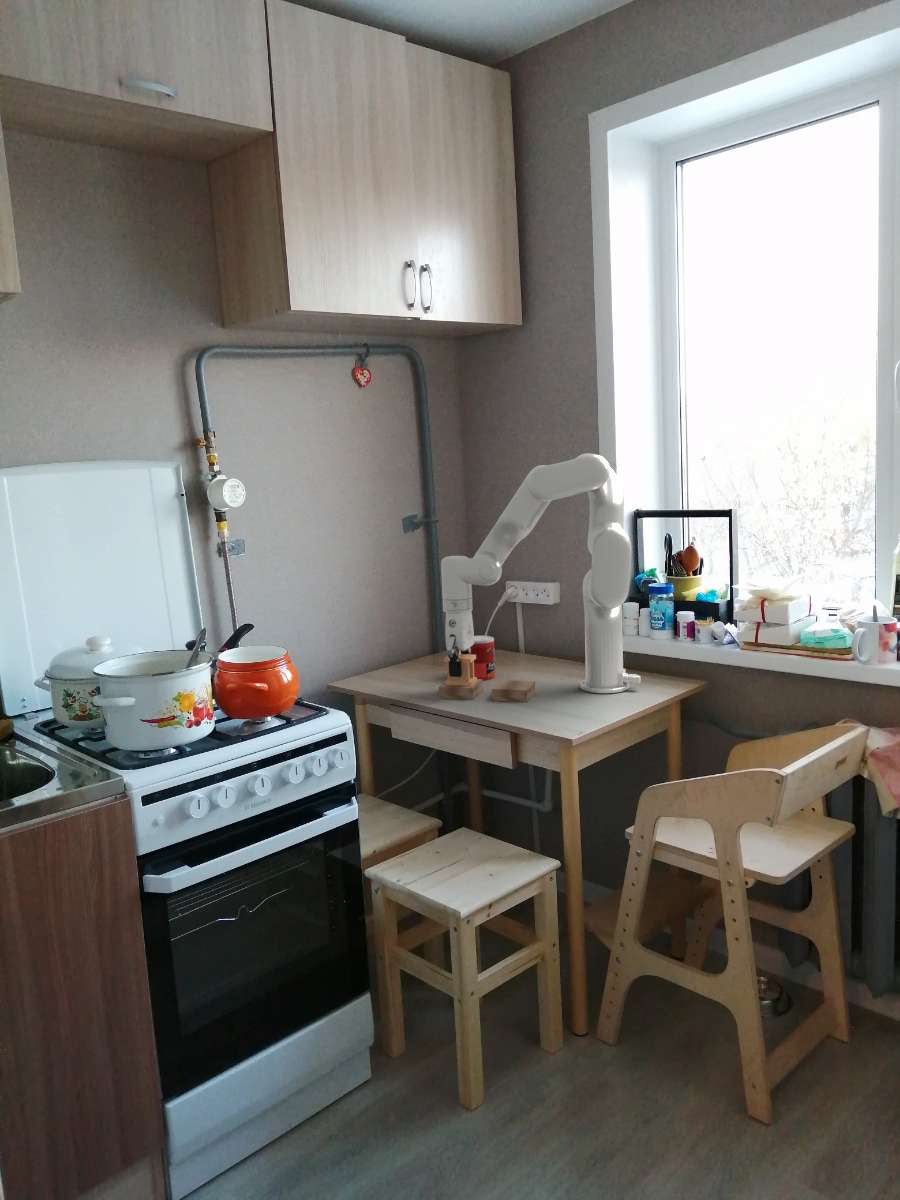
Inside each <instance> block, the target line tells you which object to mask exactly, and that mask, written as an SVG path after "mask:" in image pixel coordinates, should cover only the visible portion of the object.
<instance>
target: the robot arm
mask: <svg viewBox="0 0 900 1200" xmlns="http://www.w3.org/2000/svg"><path fill="white" fill-rule="evenodd" d="M623 489H624V488H623V486H622V483H621V481H620V479H619V477H618V476H617V474H616V472H615V471H614V469H612V467H610V463H609V462H608V460H606V458H605V457H604V456H602V455H599V454H597V453H582V454H579V455H578V456H576V457H575V458H572V459H569V460H565V461H561V462H558V463H553V464H548V465H546V464H542V465H536V466H535V467H533V468H532V469H531V470H530V471H529V472H528V474H527V475H526V477H525V479H524V480H523V481H522V482H521V484H520V486H519V488H518V489H517V491H516V492H515V493H514V495H513V497H512V498H511V500H510V502H509V503H508V504H507V506H506V507H505V509H503V512H502V514H500V516H499V518H498V519H497V521H496V523H495V524H494V526H493V527H492V529H491V530H490V531H489V533H488V535H486V537H485V538H484V540H483V542H482V543H481V545H480V546H479V548H478V550H477V551H476V552H475V554H474V556H473V557H470V558H469V557H468V556H465V555H450V556H445V557H443V558H442V559H441V562H440V569H441V570H440V571H441V594H442V595H441V597H442V611H443V612H444V613H445V630H444V631H445V646H446V647H445V648H446V652H447V656H448V661H449V676H450V677H461V676H462V666H461V661H460V655H461V654H470V653H471V649H470V647H471V646H472V645H473V644H474V636H475V633H474V631H475V629H474V620H473V619H474V618H473V613H472V611H473V588H472V587H473V586H472V585H477V586H491V585H494V584H496V583H497V582H498V581H499V580H500V579H501V576H502V574H503V568H502V567H503V564H504V563H505V561H506V560H507V559H508V556H509V555H510V554H511V552H512V551H513V550H514V548H515V547H516V546H517V545H518V543H520V542H521V541H523V539H525V538H526V537H528V535H529V534H530V533H531V532H532V530H533V529H534V528H535V526H536V525H537V524H538V521H539V520H540V518H541V517H542V515H543V514H544V512H545V511H546V509H547V507H549V505H550V503H552V501H554V500H559V499H564V498H568V497H572V496H575V495H580V494H583V493H587V495H588V500H589V519H588V533H587V534H588V535H587V541H586V543H587V549H588V551H589V553H590V555H591V568H590V569H589V570H588V571H587V573H585V576H583V577H584V578H583V580H582V598H583V600H582V601H583V608H584V609H583V610H584V646H585V647H584V648H585V650H584V654H585V655H584V656H585V662H584V663H585V679H584V680H581V681H580V683H579V688H580V689H581V690H582V691H585V692H589V693H592V694H615V693H623V692H625V691H628V690H629V688H630V683H633V684H641V675H639V674H637V673H628V672H626V669H627V668H624V657H623V656H624V655H623V653H624V651H623V650H624V649H623V647H624V645H623V637H624V636H623V628H624V625H623V620H624V619H623V606H622V605H623V604H624V603H625V601H626V600H627V598H628V595H629V591H630V584H631V569H632V550H633V549H632V543H631V539H630V537H629V535H628V533H627V532H626V531H625V530H624V521H625V518H624V517H625V516H624V515H625V496H624V491H623ZM456 654H457V655H456Z"/></svg>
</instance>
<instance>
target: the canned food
mask: <svg viewBox="0 0 900 1200" xmlns="http://www.w3.org/2000/svg"><path fill="white" fill-rule="evenodd" d="M470 649H471V653H470V654H472V655H476V659H475V660H474V677H477V679H483V681H490V680H492V679H494V678H495V676H496V663H495V662H496V660H495V658H496V657H495V655H496V654H495V637H493V636H490V635H474V644H473V645H472V646H471V647H470Z"/></svg>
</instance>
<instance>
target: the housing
mask: <svg viewBox="0 0 900 1200" xmlns="http://www.w3.org/2000/svg"><path fill="white" fill-rule="evenodd" d="M456 655H457V653H456ZM443 658H444V659H443V660H444V663H446V673H447V679H446V680H445V681H444V682H445V685H461V686H472V685H473V684H474V683H475V682H477V677H474V660H475V659H476V655H472V654H461V655H460V661H461V666H462V676H461V677H450V676H449V661H448V655H447V656H445V657H443Z"/></svg>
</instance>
